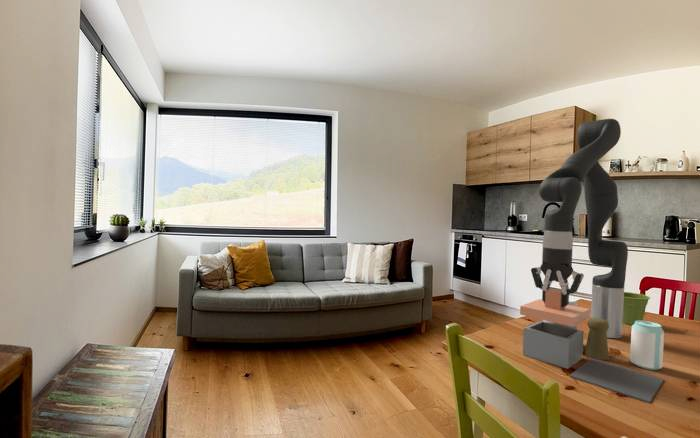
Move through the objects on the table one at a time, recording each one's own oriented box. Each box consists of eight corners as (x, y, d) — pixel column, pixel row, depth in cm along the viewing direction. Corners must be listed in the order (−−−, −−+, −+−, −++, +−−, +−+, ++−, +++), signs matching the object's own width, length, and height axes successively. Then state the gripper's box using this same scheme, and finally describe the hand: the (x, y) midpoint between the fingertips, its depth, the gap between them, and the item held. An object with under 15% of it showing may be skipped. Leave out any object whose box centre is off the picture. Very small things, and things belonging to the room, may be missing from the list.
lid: (539, 306, 116) (540, 283, 115) (589, 317, 105) (590, 291, 105) (520, 314, 106) (521, 289, 106) (573, 326, 96) (574, 298, 96)
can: (623, 359, 105) (625, 319, 105) (648, 361, 105) (650, 320, 105) (642, 370, 98) (644, 326, 98) (669, 371, 98) (671, 327, 98)
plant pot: (611, 316, 151) (612, 290, 151) (647, 322, 144) (649, 294, 144) (611, 323, 142) (612, 294, 142) (650, 330, 135) (651, 300, 135)
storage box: (539, 345, 114) (540, 320, 114) (582, 358, 105) (583, 330, 105) (522, 354, 107) (523, 327, 106) (567, 368, 98) (569, 339, 97)
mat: (591, 359, 105) (591, 358, 105) (663, 380, 93) (663, 378, 93) (569, 376, 93) (569, 375, 93) (649, 403, 81) (649, 401, 81)
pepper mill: (579, 351, 111) (581, 315, 110) (598, 351, 111) (600, 316, 111) (594, 359, 105) (596, 322, 104) (614, 359, 105) (616, 322, 105)
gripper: (589, 248, 102) (587, 308, 103) (537, 243, 113) (534, 298, 114) (581, 249, 97) (578, 313, 98) (526, 244, 108) (524, 301, 109)
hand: (554, 304), depth 106 cm, fingers closed on lid, 4 cm apart
